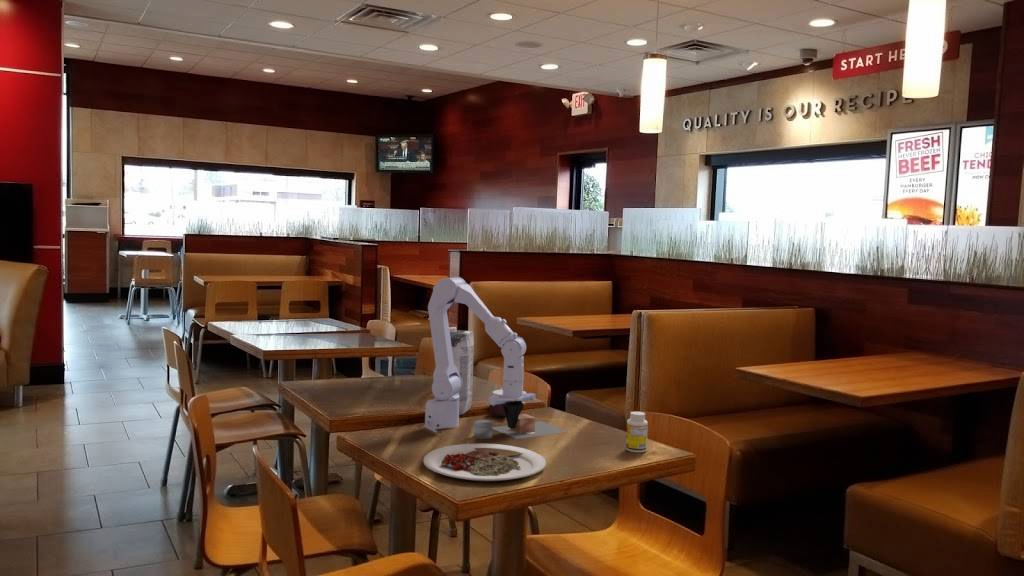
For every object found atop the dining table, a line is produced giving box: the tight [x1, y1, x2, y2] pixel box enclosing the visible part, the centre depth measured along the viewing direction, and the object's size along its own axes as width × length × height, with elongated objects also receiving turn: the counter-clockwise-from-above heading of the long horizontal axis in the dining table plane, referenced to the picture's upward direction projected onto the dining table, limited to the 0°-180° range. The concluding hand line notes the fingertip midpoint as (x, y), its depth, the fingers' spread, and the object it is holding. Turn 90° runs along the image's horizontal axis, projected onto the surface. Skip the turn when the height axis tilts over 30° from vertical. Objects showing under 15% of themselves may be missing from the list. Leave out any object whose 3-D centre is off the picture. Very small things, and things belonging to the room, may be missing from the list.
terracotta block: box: [511, 413, 536, 433], centre depth 225 cm, size 5×5×4 cm
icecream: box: [488, 404, 506, 418], centre depth 243 cm, size 7×7×15 cm
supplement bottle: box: [625, 411, 649, 454], centre depth 212 cm, size 6×6×10 cm
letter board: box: [492, 421, 569, 440], centre depth 227 cm, size 18×14×1 cm
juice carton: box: [449, 326, 475, 416], centre depth 250 cm, size 9×10×27 cm
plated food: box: [422, 442, 547, 482], centre depth 193 cm, size 30×30×3 cm
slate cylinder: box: [473, 420, 494, 440], centre depth 217 cm, size 5×5×5 cm
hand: (511, 427), depth 223 cm, fingers closed
